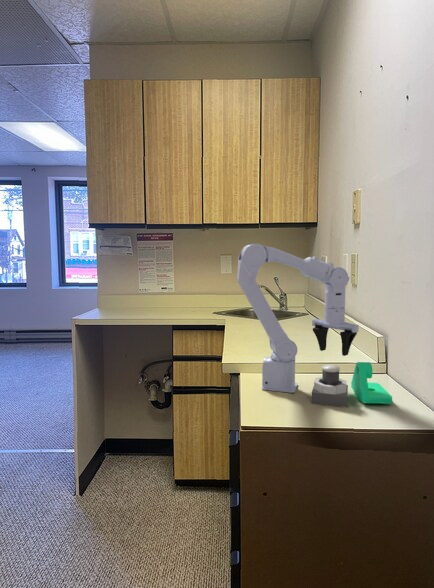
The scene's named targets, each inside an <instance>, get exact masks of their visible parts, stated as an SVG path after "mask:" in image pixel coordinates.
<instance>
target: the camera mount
mask: <svg viewBox="0 0 434 588" xmlns="http://www.w3.org/2000/svg"><path fill="white" fill-rule="evenodd" d="M373 371H374V370H373V365H372V363H371V362H370V361H364V362H363V361H357V362H356V364H355V366H354V370H353V375H352V378H351V382H350V383H351V385H350V386H351V389H352V390H353V392H354V396H355V398H356V399H357V401H358V402H362V403H363V404H385V405H386V404H392V403H393V396H392V395H391V394H390V393H389V392H388V390H386V389H385V388H384V387H383V386H382V385H381V383H379V382H368V379H372V378H373Z"/></svg>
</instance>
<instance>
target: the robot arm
mask: <svg viewBox="0 0 434 588" xmlns="http://www.w3.org/2000/svg"><path fill="white" fill-rule="evenodd" d="M273 262H274V263H275V262H276V263H279V264H282V265H285V266H289V267H291V268H294V269H298V270H299V271H300V273H301V275H302V276H303V277H306V278H309V279H312V280H314V281H317V282H321V283H324V284H325V289H324V290H325V291H324V319H322V318H321V319H320V318H313V319H312V320H311V326H312V327H313V328H312V333H314V335H315V337H316V340H317V343H318V347H319V351H321V352H323V351H326V350H327V349H326V348H327V338H328V337H327V336H328V333H329V329H333V330H340V332H339V336H340V339H341V355H342V356H343V357H345V356H348V355H349V353H350V349H351V346H352V344H353V341H354V340H355V337H356V336H357V334H358V332H359V328H360V327H359V324H354V323H351V322H347V321H345V319H346V315H345V313H346V286H347V284H348V283H349V281H350V276H349V274H348V272H347V270H346V269H345V268H343V267H341V266H334V263H332V262H328V263H327V262H325V261H322V260H320V259H319V257H317V256H308V257H306V258H301V257H298V256H296V255H294V254H291V253H289V252H287V251H283V250H281V249H279V248H276V247H272V246H267V245H261V244H260V243H251V244H247V245H244V246H243V247H242V248H241V251H240V252H239V255H238V257H237V274H236V275H237V276H236V281H237V283H238V285H239V287H240V288H241V290H242V292H243V294H244V296H245V297H246V299H247V300H248V303H249V304H250V306H251V308H252V309H253V311H254V313H255V315H256V317H257V319H258V320H259V322H260V324H261V326H262V327H263V330H264V331H265V333H266V335H267V337H268V340H269V347H270V349H271V350H272V352H271V355H270V356H265V357H264V358H263V362H262V368H261V369H262V371H261V372H262V376H261V377H262V380H261V381H262V383H261V389H262V390H263V391H264V390H265V391H273V392H282V393H289V394H294V393H295V392H296V389H297V387H298V382H296V356H297V354H298V345H297V344H296V343H295V342H294V341H293V340H292V339H290V337H288V335H287V333H286V332H285V330H284V329H283V327H282V325H281V324H280V322H279V320H278V319H277V317H276V314H275V313H274V312H273V310H272V308H271V306H270V305H269V302H268V301H267V299H266V297H265V295H264V293H263V291H262V290H261V288H260V286H259V285H258V282H257V281H256V280H257V276H258V273H259V270H260V269H261V267H262V266H263V265H264V263H266V264H267V263H268V264H269V263H273Z"/></svg>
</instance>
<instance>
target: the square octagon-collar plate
mask: <svg viewBox="0 0 434 588" xmlns="http://www.w3.org/2000/svg"><path fill="white" fill-rule="evenodd" d="M347 384H348V383H347V380H345V379H342V378H340V377H339V385H336V386H333V385H325V384H322V376H320V377H316V378H315V379H314V382H313V386H312V387H313V388H312V390H311V404H316V405H323V406H324V405H325V406H332V407H341V408H347V407H348V396H349V395H348V394H349V393H348V391H349V385H347Z"/></svg>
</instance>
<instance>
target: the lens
mask: <svg viewBox="0 0 434 588" xmlns="http://www.w3.org/2000/svg"><path fill="white" fill-rule="evenodd" d="M321 367H322V368H321V370H322V372H321V373H322V374H321V375H322V376H321V377H322V384H325V385H333V386H336V385H339V378H340V371H341V370H340V368H341V367H340V366H338V365H333V364H324V365H322V366H321Z"/></svg>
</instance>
